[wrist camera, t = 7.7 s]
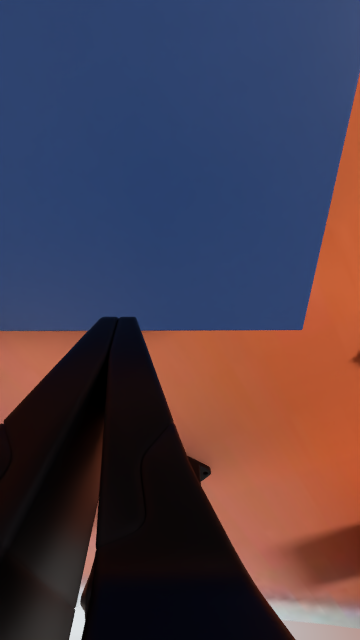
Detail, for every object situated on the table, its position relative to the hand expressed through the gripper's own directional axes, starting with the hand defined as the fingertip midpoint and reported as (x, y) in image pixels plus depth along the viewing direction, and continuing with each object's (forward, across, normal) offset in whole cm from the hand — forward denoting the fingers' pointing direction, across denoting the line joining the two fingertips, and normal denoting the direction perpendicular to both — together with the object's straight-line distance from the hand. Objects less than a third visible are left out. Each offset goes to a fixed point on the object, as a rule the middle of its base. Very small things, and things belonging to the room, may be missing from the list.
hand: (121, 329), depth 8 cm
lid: (+7, 0, -1) cm, 7 cm away
